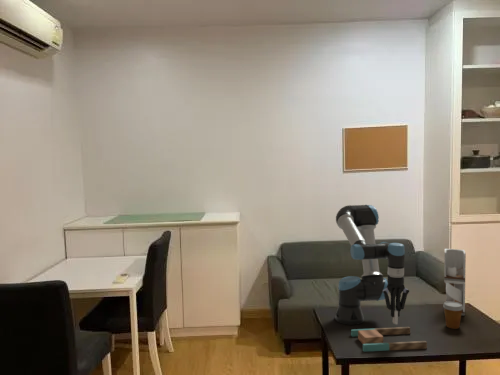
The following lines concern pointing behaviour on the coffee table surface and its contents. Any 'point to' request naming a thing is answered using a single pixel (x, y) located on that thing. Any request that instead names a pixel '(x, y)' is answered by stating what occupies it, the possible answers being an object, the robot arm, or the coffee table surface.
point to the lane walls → (401, 344)
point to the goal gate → (373, 345)
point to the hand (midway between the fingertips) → (395, 323)
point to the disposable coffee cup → (452, 314)
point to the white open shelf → (455, 276)
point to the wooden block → (370, 336)
